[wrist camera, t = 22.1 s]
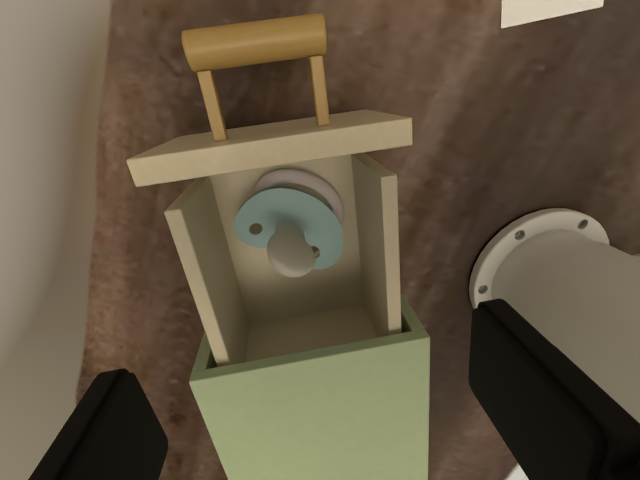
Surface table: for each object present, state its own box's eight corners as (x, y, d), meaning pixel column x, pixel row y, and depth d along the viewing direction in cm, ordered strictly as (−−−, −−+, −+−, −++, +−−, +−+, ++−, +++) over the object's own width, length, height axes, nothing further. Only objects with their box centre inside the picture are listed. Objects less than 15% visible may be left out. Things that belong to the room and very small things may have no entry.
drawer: (155, 55, 19) (77, 31, 12) (361, 28, 20) (411, -10, 13) (234, 326, 28) (219, 412, 20) (378, 300, 28) (414, 375, 21)
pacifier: (263, 149, 21) (229, 229, 23) (260, 165, 16) (215, 270, 17) (359, 195, 23) (322, 265, 25) (388, 225, 18) (337, 313, 19)
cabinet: (218, 284, 27) (187, 382, 18) (380, 256, 28) (430, 337, 19) (259, 420, 34) (252, 541, 25) (388, 395, 35) (427, 504, 26)
